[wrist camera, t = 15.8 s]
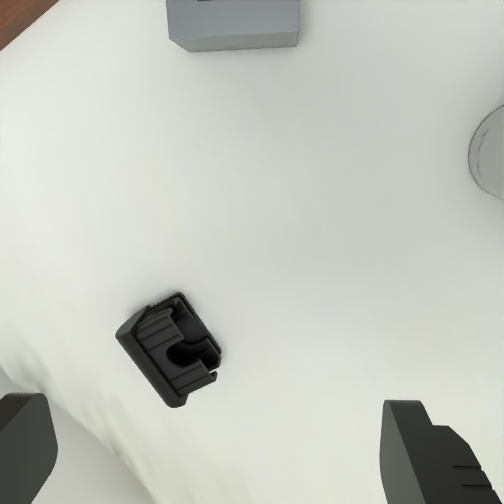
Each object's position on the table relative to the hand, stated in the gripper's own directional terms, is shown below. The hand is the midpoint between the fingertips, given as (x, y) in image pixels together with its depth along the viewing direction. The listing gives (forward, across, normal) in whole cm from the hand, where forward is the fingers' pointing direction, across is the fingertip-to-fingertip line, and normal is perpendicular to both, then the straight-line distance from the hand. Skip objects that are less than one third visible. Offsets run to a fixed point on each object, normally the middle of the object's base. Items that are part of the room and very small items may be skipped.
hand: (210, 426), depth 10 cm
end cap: (+34, +11, +17) cm, 40 cm away
